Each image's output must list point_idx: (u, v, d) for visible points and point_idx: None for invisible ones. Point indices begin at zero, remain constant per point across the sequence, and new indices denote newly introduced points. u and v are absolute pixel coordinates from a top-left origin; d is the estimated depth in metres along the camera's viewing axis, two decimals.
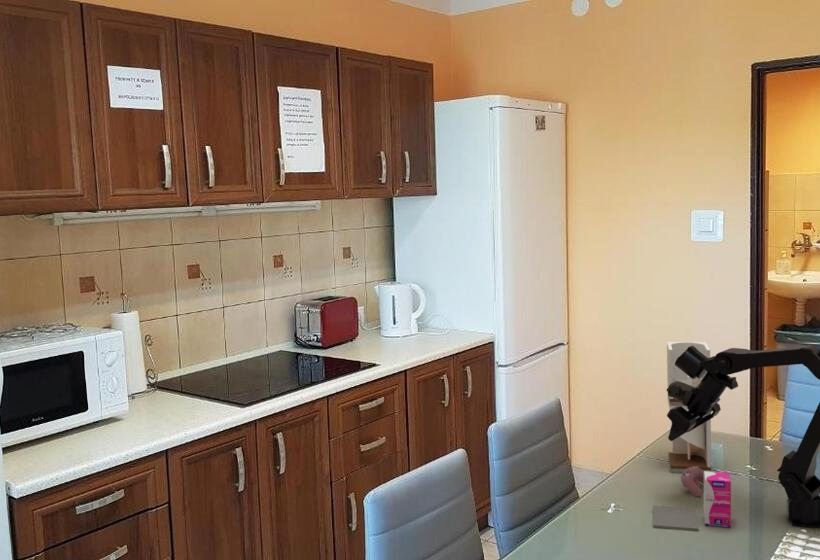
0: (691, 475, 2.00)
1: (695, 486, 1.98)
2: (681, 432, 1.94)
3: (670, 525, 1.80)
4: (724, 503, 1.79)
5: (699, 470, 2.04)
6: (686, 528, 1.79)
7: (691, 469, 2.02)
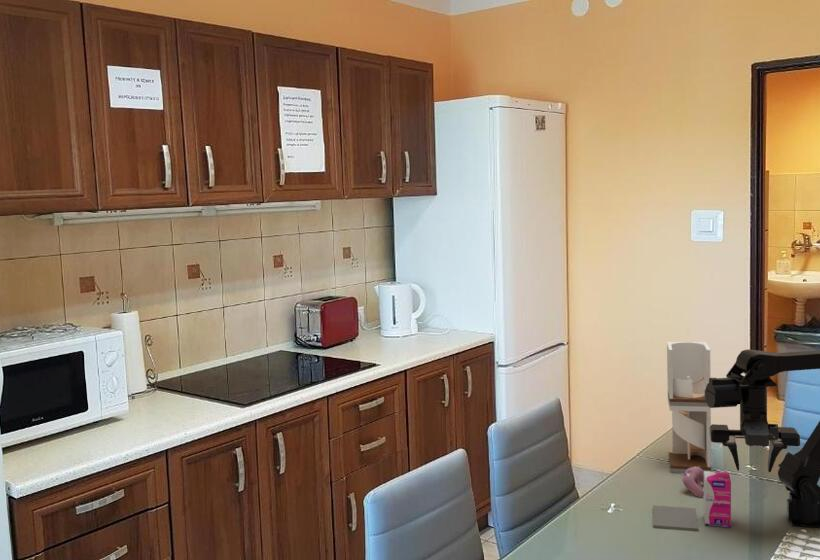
0: (692, 475, 2.00)
1: (696, 486, 1.98)
2: None
3: (670, 525, 1.80)
4: (724, 503, 1.79)
5: (700, 470, 2.04)
6: (686, 528, 1.79)
7: (692, 469, 2.02)
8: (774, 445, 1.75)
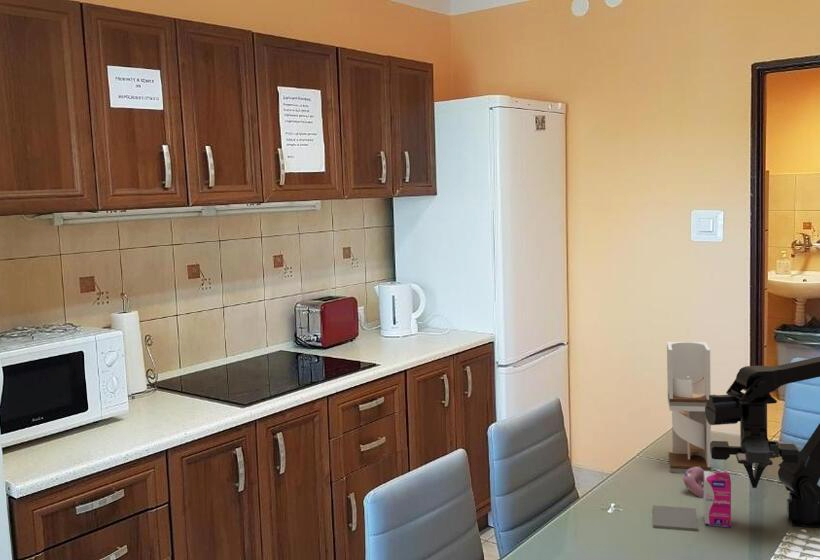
0: (693, 475, 2.00)
1: (697, 486, 1.98)
2: None
3: (670, 525, 1.80)
4: (724, 503, 1.79)
5: (701, 470, 2.04)
6: (686, 528, 1.79)
7: (693, 469, 2.02)
8: None
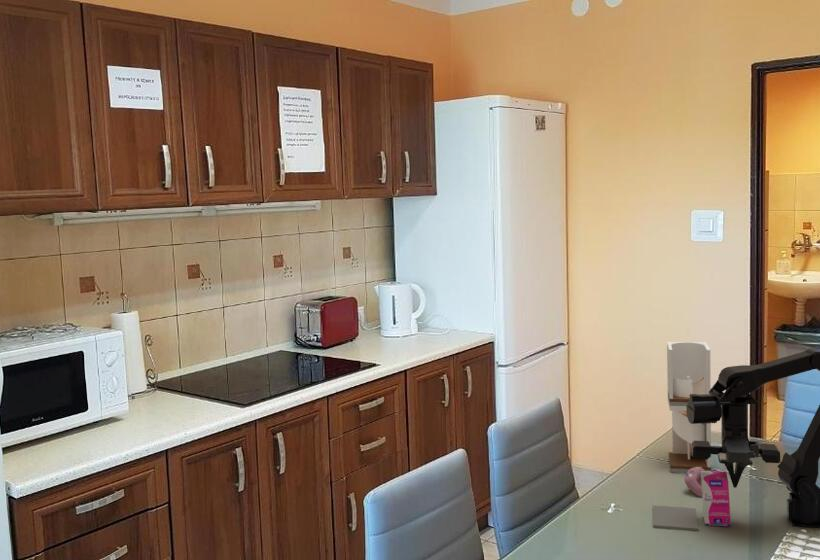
0: (694, 475, 2.00)
1: (699, 486, 1.97)
2: None
3: (670, 525, 1.80)
4: (723, 502, 1.79)
5: (702, 470, 2.03)
6: (686, 528, 1.79)
7: (694, 469, 2.02)
8: None
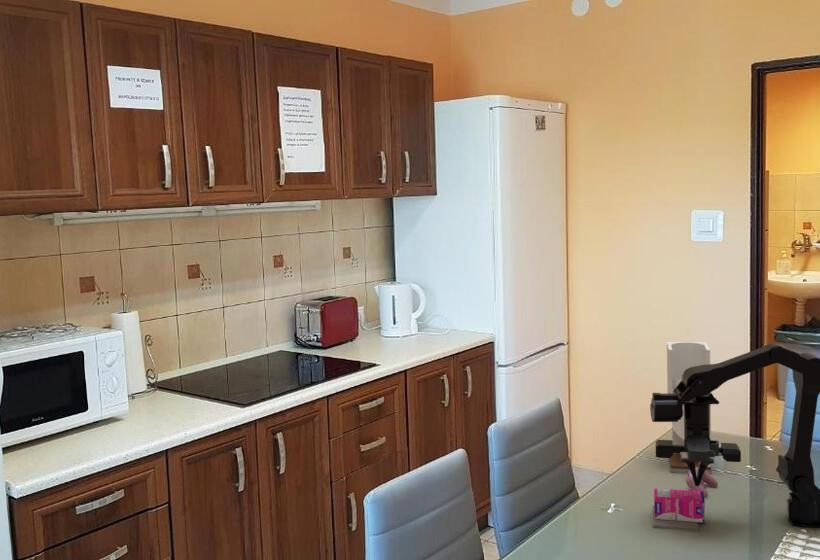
0: None
1: (700, 487, 1.97)
2: None
3: (670, 525, 1.80)
4: (678, 503, 1.82)
5: None
6: (686, 528, 1.79)
7: (696, 470, 2.01)
8: None
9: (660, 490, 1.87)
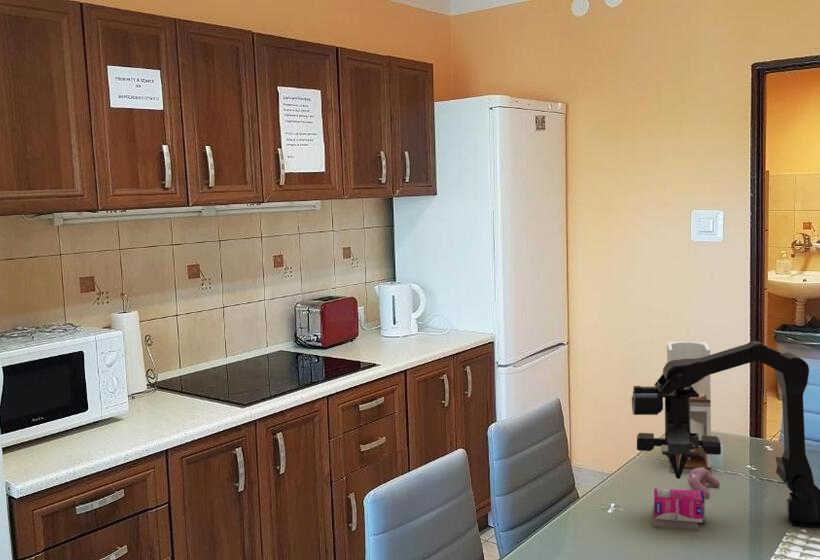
0: (698, 476, 1.99)
1: (702, 487, 1.97)
2: None
3: (670, 525, 1.80)
4: (678, 503, 1.82)
5: (705, 471, 2.03)
6: (686, 528, 1.79)
7: (698, 470, 2.01)
8: None
9: (660, 490, 1.87)
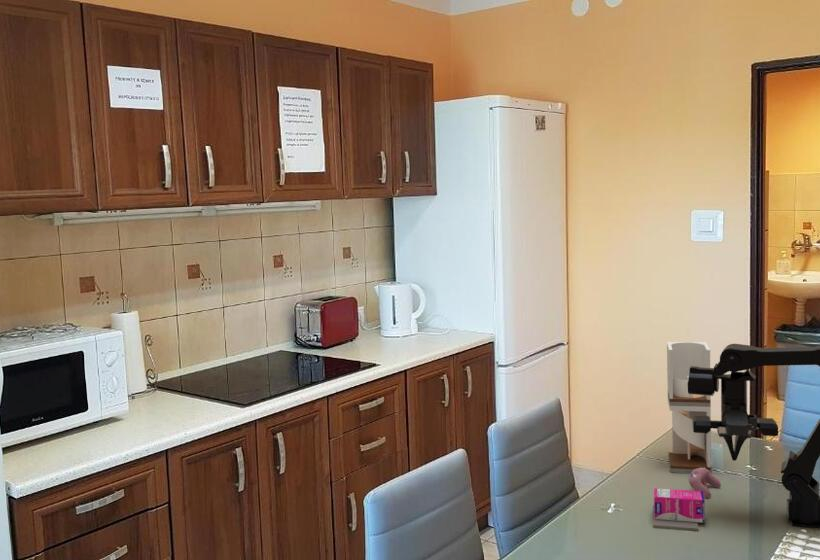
0: (699, 476, 1.99)
1: (703, 487, 1.97)
2: None
3: (670, 525, 1.80)
4: (678, 503, 1.82)
5: (706, 471, 2.03)
6: (686, 528, 1.79)
7: (699, 470, 2.01)
8: None
9: (660, 490, 1.87)
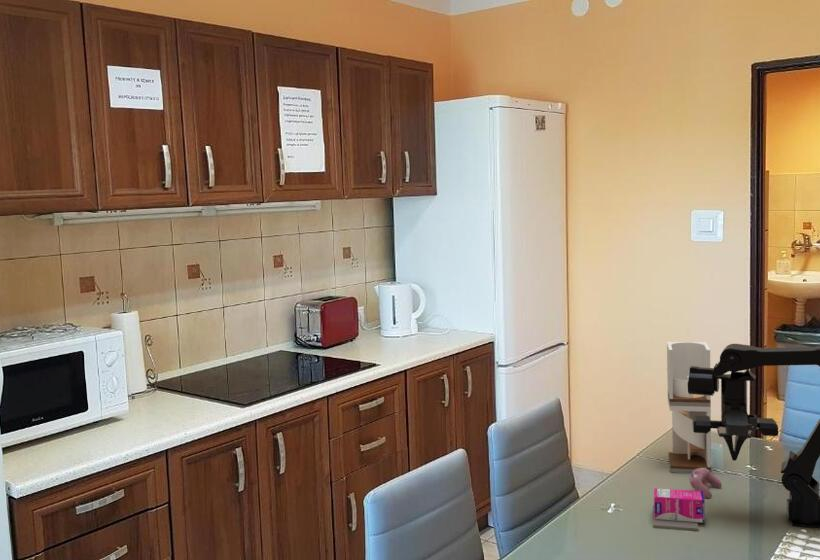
0: (700, 476, 1.99)
1: (704, 487, 1.97)
2: None
3: (670, 525, 1.80)
4: (678, 503, 1.82)
5: (707, 471, 2.03)
6: (686, 528, 1.79)
7: (699, 470, 2.01)
8: None
9: (660, 490, 1.87)
